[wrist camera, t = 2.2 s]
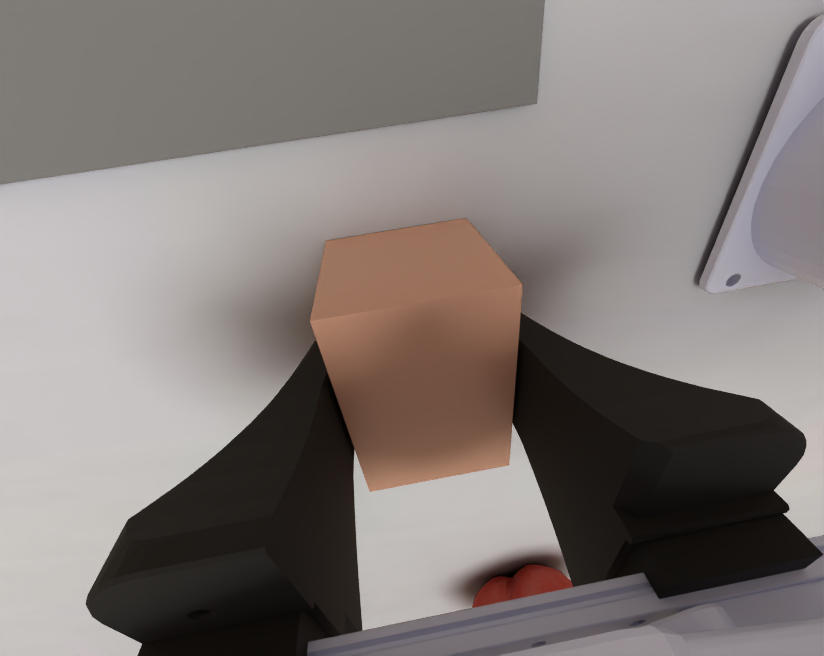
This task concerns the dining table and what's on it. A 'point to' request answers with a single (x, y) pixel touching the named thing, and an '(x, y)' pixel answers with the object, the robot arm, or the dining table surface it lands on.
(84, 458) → the dining table surface
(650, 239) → the dining table surface
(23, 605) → the dining table surface
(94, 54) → the mat
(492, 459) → the terracotta brick
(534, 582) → the vegetable
